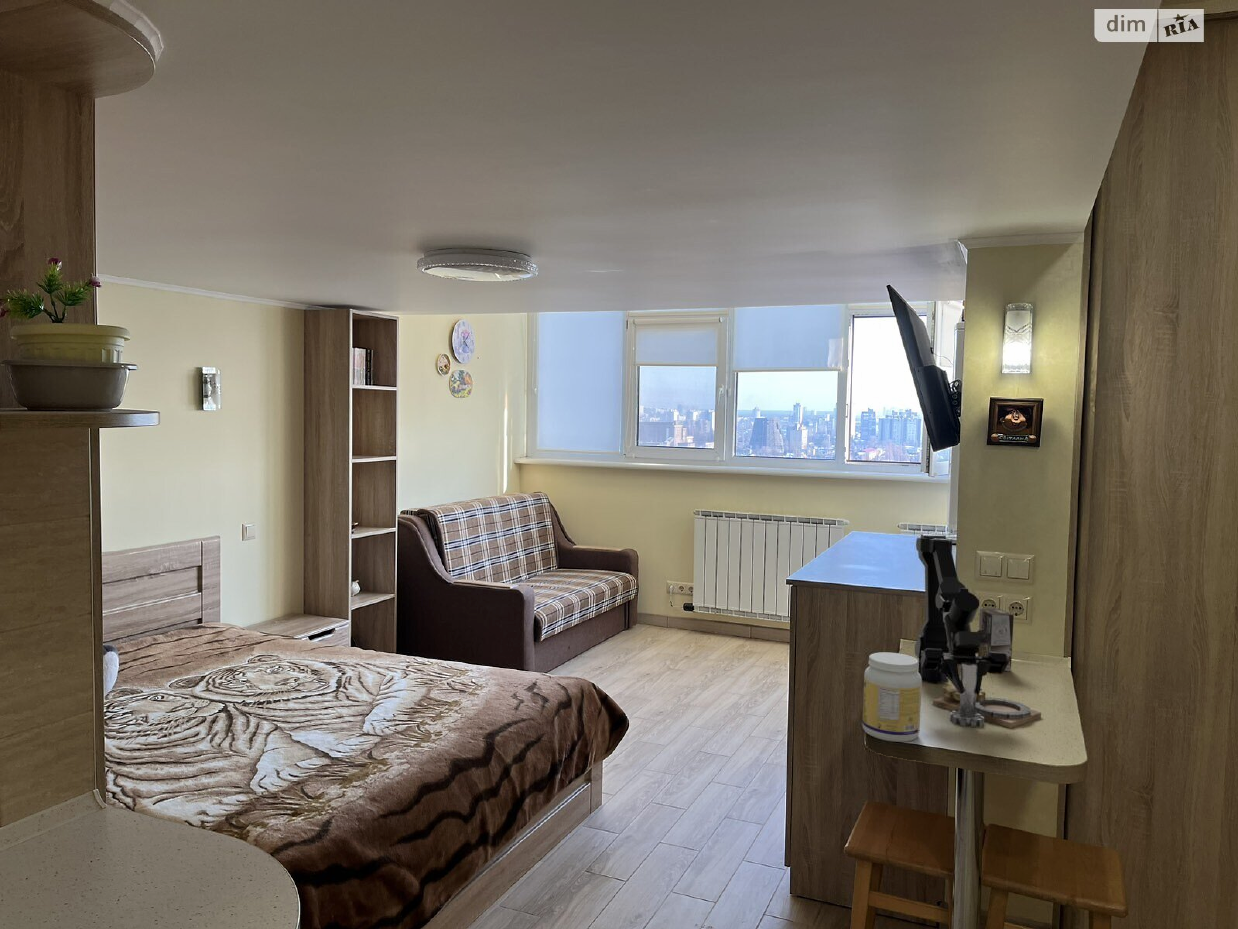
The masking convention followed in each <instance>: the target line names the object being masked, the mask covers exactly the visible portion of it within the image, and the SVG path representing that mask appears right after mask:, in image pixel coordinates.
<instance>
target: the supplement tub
mask: <svg viewBox="0 0 1238 929" xmlns="http://www.w3.org/2000/svg"><path fill="white" fill-rule="evenodd" d="M868 665H869V666H868V667H866V668H865V670H864V675H863V677H864V678H863V680H864V681H863V696H862V698H863V701H862V702H863V703H862V724H861V725H862V728H863V730H864V731H865V733H866V734H868V735H869V736H871V737H873V738H876V739H878V740H882V741H888V742H892V743H893V742H895V743H905V742H911V741H914V740H916V739H917V738H918V737H919V735H920V733H921V732H920V731H921V730H920V728H921V726H920V725H921V705H922V684H923V680H922V678H921V675H920V674H919V673H918V669H919V659H917V658H916V657H914V656H911V655H907V654H904V653H898V652H890V651H889V652H887V651H886V652H885V651H884V652H881V651H880V652H875V653H872V654H869V657H868Z"/></svg>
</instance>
